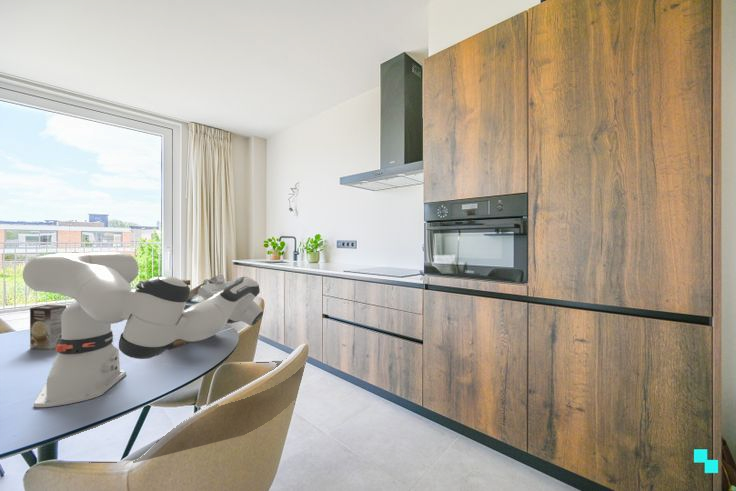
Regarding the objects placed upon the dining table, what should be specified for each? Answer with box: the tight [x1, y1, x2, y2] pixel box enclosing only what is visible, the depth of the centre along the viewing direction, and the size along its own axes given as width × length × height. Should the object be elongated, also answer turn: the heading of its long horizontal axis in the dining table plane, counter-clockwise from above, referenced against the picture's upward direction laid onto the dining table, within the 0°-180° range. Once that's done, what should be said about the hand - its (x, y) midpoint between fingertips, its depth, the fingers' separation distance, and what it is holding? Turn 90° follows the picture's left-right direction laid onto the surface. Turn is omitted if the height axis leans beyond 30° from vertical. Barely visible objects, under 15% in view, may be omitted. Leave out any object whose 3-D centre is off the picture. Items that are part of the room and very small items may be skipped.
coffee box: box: [29, 304, 67, 350], centre depth 123 cm, size 9×6×16 cm
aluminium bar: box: [188, 274, 226, 301], centre depth 137 cm, size 24×4×3 cm, turn 71°
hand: (210, 280), depth 135 cm, fingers closed on aluminium bar, 4 cm apart
